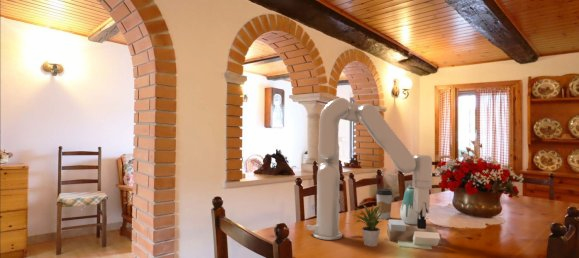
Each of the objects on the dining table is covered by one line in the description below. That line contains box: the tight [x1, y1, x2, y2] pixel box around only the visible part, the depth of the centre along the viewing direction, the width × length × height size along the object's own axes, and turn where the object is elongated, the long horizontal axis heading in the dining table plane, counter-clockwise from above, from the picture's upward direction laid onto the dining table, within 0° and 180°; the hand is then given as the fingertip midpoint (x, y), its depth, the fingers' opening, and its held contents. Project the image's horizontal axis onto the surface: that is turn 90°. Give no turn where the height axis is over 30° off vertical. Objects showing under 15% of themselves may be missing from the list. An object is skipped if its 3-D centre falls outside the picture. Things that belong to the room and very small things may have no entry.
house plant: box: [352, 204, 384, 247], centre depth 140 cm, size 14×14×16 cm
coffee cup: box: [375, 188, 393, 220], centre depth 183 cm, size 8×8×15 cm
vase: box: [399, 186, 418, 226], centre depth 173 cm, size 12×12×18 cm
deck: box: [386, 223, 442, 246], centre depth 147 cm, size 20×12×4 cm, turn 79°
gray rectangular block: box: [388, 219, 407, 231], centre depth 149 cm, size 9×6×2 cm, turn 169°
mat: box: [396, 241, 433, 250], centre depth 138 cm, size 12×7×1 cm, turn 79°
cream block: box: [413, 231, 440, 247], centre depth 136 cm, size 9×6×2 cm
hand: (421, 228), depth 144 cm, fingers closed
